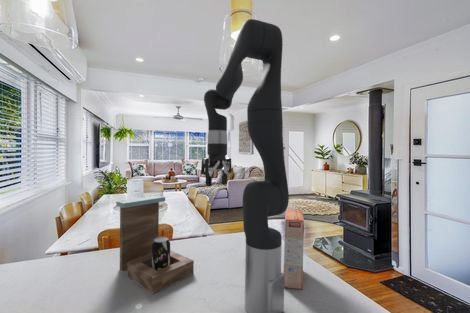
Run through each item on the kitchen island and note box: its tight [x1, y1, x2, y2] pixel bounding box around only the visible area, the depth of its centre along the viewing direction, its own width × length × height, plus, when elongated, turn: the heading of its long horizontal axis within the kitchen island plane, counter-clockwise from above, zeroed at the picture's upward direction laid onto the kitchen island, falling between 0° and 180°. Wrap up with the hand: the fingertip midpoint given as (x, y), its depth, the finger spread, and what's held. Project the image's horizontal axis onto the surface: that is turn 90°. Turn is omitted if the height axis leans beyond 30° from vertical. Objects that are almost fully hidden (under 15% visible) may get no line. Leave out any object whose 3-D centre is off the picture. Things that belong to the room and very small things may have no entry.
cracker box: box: [283, 209, 305, 290], centre depth 79 cm, size 14×6×21 cm, turn 167°
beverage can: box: [152, 236, 171, 271], centre depth 79 cm, size 6×6×12 cm
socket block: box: [126, 249, 195, 294], centre depth 79 cm, size 15×15×4 cm
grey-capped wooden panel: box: [115, 195, 166, 272], centre depth 87 cm, size 5×16×24 cm, turn 141°
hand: (216, 185), depth 92 cm, fingers open, 8 cm apart
